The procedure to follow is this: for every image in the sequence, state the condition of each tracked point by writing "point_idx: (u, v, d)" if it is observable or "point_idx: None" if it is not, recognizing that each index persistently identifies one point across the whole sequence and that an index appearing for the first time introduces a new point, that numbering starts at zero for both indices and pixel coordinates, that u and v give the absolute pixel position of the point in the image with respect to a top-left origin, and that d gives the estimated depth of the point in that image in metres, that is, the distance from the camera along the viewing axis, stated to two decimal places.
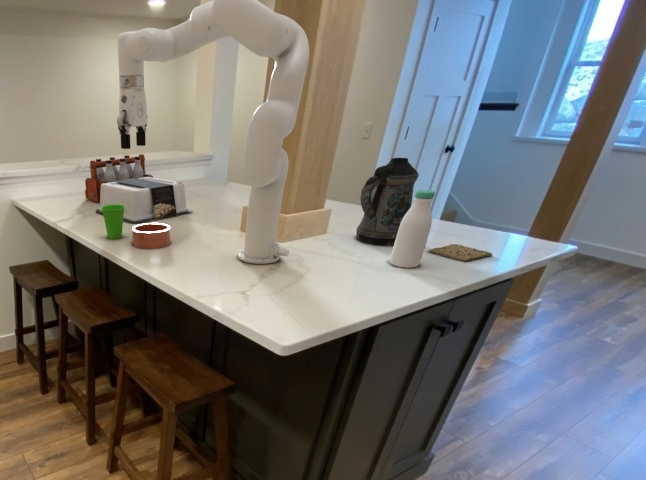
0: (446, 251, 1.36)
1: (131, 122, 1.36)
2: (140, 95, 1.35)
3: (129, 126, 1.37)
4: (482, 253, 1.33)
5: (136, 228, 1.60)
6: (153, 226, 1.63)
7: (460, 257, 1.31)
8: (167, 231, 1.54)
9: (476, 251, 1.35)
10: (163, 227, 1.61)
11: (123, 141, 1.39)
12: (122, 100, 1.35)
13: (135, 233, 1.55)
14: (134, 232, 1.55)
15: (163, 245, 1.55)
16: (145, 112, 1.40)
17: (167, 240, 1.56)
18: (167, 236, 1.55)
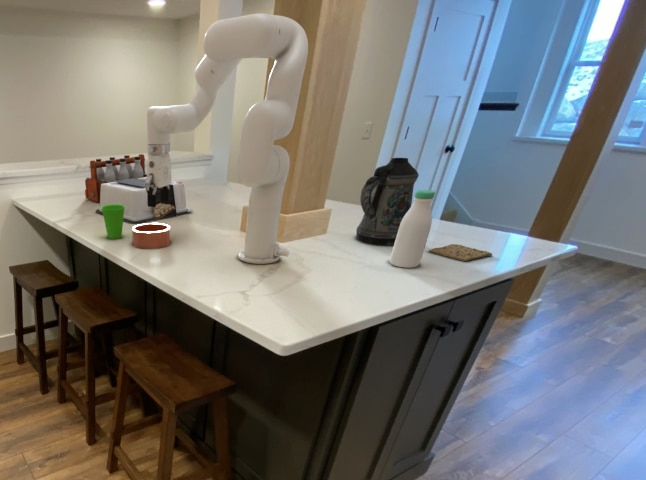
0: (446, 251, 1.36)
1: (158, 184, 1.50)
2: (166, 159, 1.49)
3: (155, 187, 1.51)
4: (482, 253, 1.33)
5: (136, 228, 1.60)
6: (153, 226, 1.63)
7: (460, 257, 1.31)
8: (167, 231, 1.54)
9: (476, 251, 1.35)
10: (163, 227, 1.61)
11: (150, 200, 1.53)
12: (150, 165, 1.48)
13: (135, 233, 1.55)
14: (134, 232, 1.55)
15: (163, 245, 1.55)
16: (170, 173, 1.54)
17: (167, 240, 1.56)
18: (167, 236, 1.55)
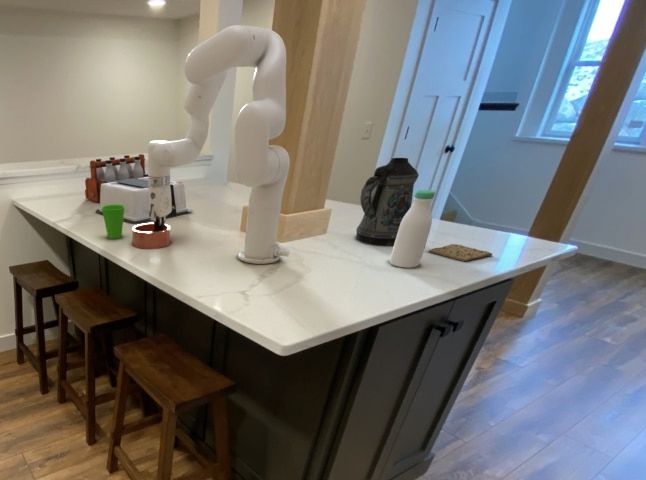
0: (446, 251, 1.36)
1: (158, 214, 1.55)
2: (166, 190, 1.54)
3: (160, 218, 1.59)
4: (482, 253, 1.33)
5: (136, 228, 1.60)
6: (153, 226, 1.63)
7: (460, 257, 1.31)
8: (167, 231, 1.54)
9: (476, 251, 1.35)
10: (163, 227, 1.61)
11: (156, 230, 1.62)
12: (151, 196, 1.54)
13: (135, 233, 1.55)
14: (134, 232, 1.55)
15: (163, 245, 1.55)
16: (170, 203, 1.59)
17: (167, 240, 1.56)
18: (167, 236, 1.55)
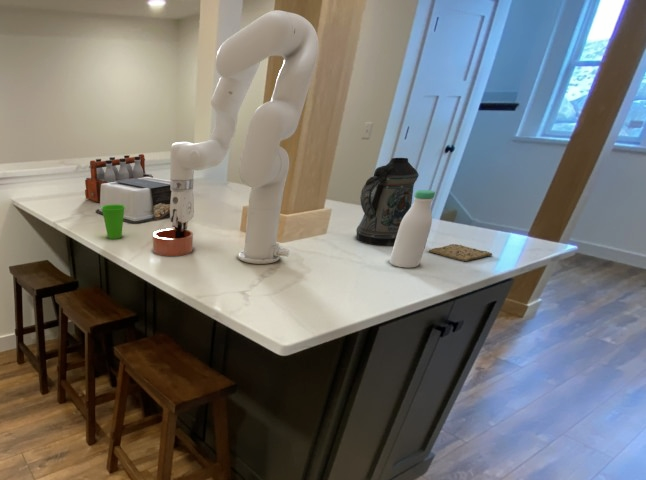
0: (446, 251, 1.36)
1: (181, 220, 1.47)
2: (189, 195, 1.46)
3: (182, 224, 1.50)
4: (482, 253, 1.33)
5: (157, 234, 1.52)
6: (174, 232, 1.54)
7: (460, 257, 1.31)
8: (190, 237, 1.46)
9: (476, 251, 1.35)
10: (185, 233, 1.53)
11: (178, 236, 1.53)
12: (173, 200, 1.45)
13: (156, 240, 1.46)
14: (155, 239, 1.47)
15: (186, 252, 1.47)
16: (192, 208, 1.51)
17: (190, 247, 1.48)
18: (190, 243, 1.47)
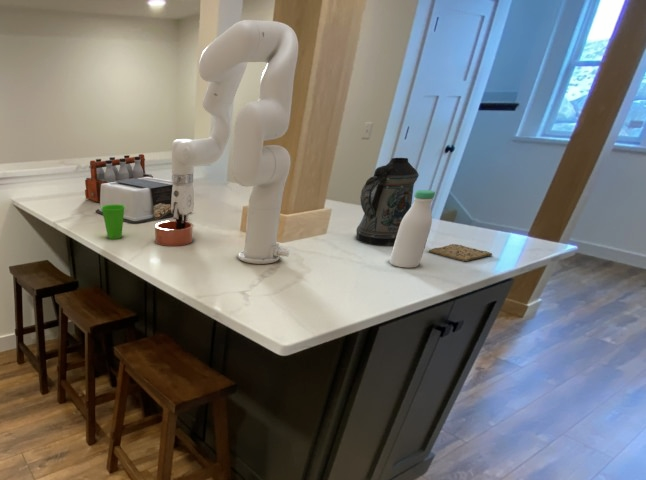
0: (446, 251, 1.36)
1: (182, 212, 1.56)
2: (189, 188, 1.56)
3: (183, 216, 1.60)
4: (482, 253, 1.33)
5: (159, 225, 1.62)
6: None
7: (460, 257, 1.31)
8: (190, 228, 1.56)
9: (476, 251, 1.35)
10: (185, 225, 1.62)
11: (178, 228, 1.63)
12: (174, 194, 1.55)
13: (158, 230, 1.56)
14: (157, 229, 1.57)
15: (186, 242, 1.57)
16: (192, 201, 1.61)
17: (190, 237, 1.58)
18: (190, 233, 1.57)
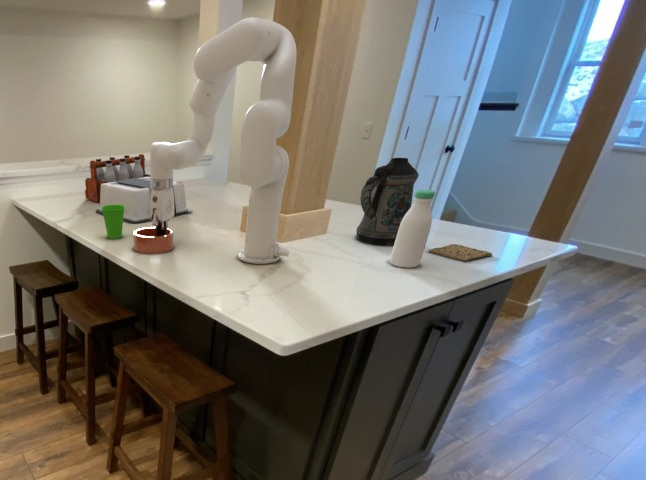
0: (446, 251, 1.36)
1: (161, 218, 1.50)
2: (169, 194, 1.49)
3: (162, 222, 1.53)
4: (482, 253, 1.33)
5: (138, 232, 1.55)
6: (155, 230, 1.57)
7: (460, 257, 1.31)
8: (170, 236, 1.49)
9: (476, 251, 1.35)
10: (166, 231, 1.55)
11: (158, 235, 1.56)
12: (153, 199, 1.48)
13: (137, 237, 1.49)
14: (135, 237, 1.50)
15: (165, 250, 1.50)
16: (173, 206, 1.54)
17: (170, 245, 1.51)
18: (170, 241, 1.50)
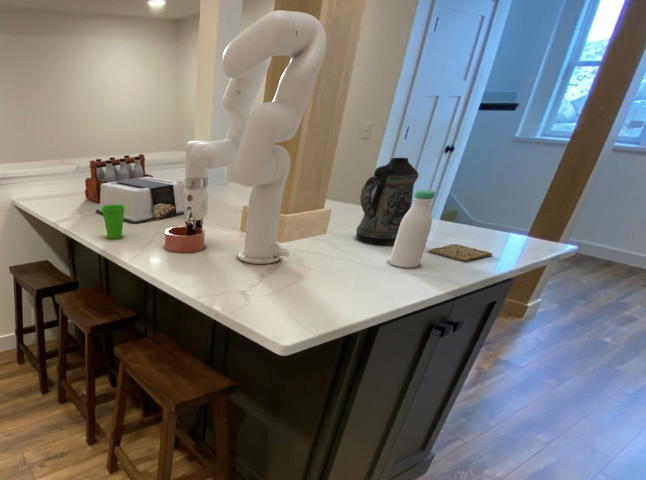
0: (446, 251, 1.36)
1: (195, 217, 1.49)
2: (203, 193, 1.48)
3: (194, 222, 1.51)
4: (482, 253, 1.33)
5: (169, 231, 1.55)
6: None
7: (460, 257, 1.31)
8: (201, 235, 1.48)
9: (476, 251, 1.35)
10: (198, 231, 1.55)
11: (189, 235, 1.54)
12: (188, 198, 1.47)
13: (168, 236, 1.49)
14: (167, 235, 1.50)
15: (196, 249, 1.49)
16: (206, 205, 1.53)
17: (201, 244, 1.50)
18: (201, 240, 1.49)
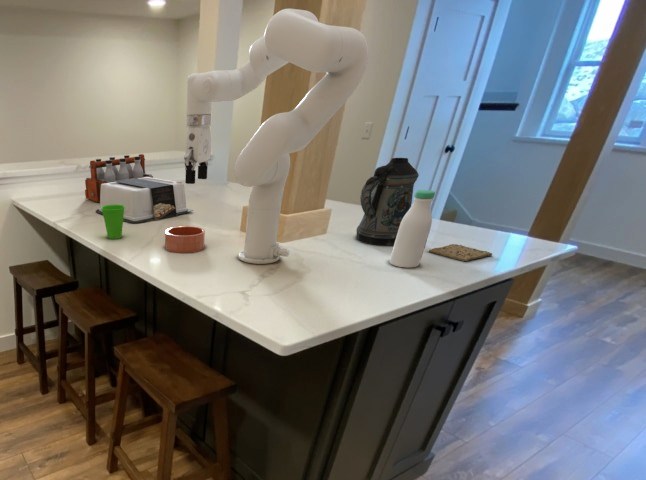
0: (446, 251, 1.36)
1: (197, 159, 1.39)
2: (206, 132, 1.39)
3: (195, 162, 1.40)
4: (482, 253, 1.33)
5: (169, 231, 1.55)
6: (188, 229, 1.57)
7: (460, 257, 1.31)
8: (201, 235, 1.48)
9: (476, 251, 1.35)
10: (198, 231, 1.55)
11: (188, 176, 1.42)
12: (189, 137, 1.38)
13: (168, 236, 1.49)
14: (167, 235, 1.50)
15: (196, 249, 1.49)
16: (209, 148, 1.43)
17: (201, 244, 1.50)
18: (201, 240, 1.49)
